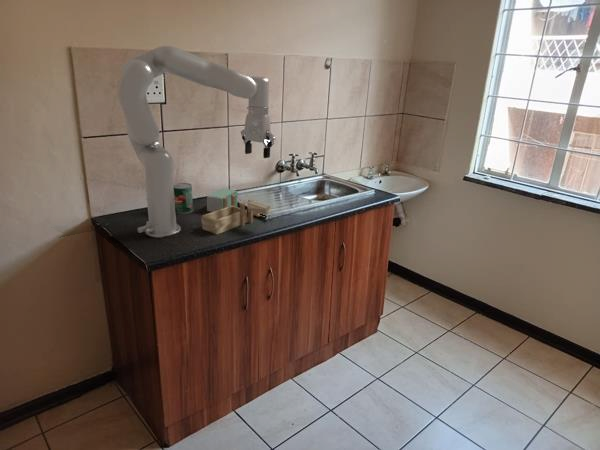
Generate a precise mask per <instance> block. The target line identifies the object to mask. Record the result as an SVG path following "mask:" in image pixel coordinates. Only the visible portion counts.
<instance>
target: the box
mask: <svg viewBox="0 0 600 450" xmlns="http://www.w3.org/2000/svg"><path fill="white" fill-rule="evenodd" d="M232 194H234V195H236V207H238V191H237V190H235V189H227V188H223V189H220V190H218V191H215V192H214V193H212V194H210V195H207V196H206V211H207V212H209V213H212V212H215V211H218V210H221V209H223V200H222V197H227V207H230V206H231V195H232Z"/></svg>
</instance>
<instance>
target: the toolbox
mask: <svg viewBox="0 0 600 450" xmlns="http://www.w3.org/2000/svg"><path fill="white" fill-rule="evenodd" d="M222 200H223V209H221V210H218V211H215V212H209V213H205V214H202V215H201V229H202V230H204V231H207V232H208V233H209V232H210V233H212V234H215V235H219V234H222V233H224V232H227V231H229V230H233V229H234V228H237V227H240V226H241V227H245V226H246V224H247V223H249V224H253V223H254V215H253V211H250V210H248V209H245V208H246V207H245V206H246V203H245V202H243V201H241V202H239V207H238V206H237V207H236V195H234V194H232V195H231V206H230V207H227V197H222ZM250 201H254V200H253V199H248V200H247V203H248V202H250Z"/></svg>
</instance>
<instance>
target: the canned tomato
mask: <svg viewBox="0 0 600 450" xmlns="http://www.w3.org/2000/svg"><path fill="white" fill-rule="evenodd" d="M173 188H174V200H175V214H181V215H183V214H184V215H185V214H189V213H192V212H194V202H193V185H192V184H191V183H187V182H178V183H173Z"/></svg>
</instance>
